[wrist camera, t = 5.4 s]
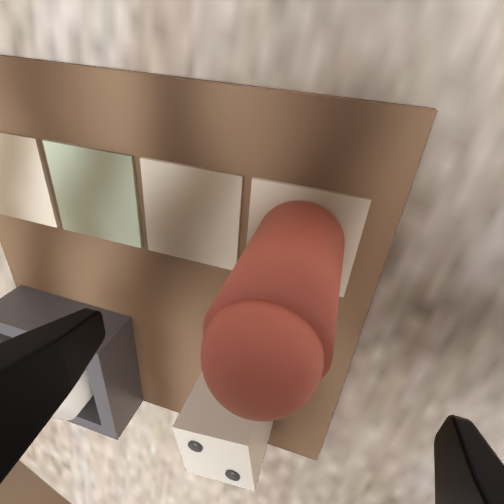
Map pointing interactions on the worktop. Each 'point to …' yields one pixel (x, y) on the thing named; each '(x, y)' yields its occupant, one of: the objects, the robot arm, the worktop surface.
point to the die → (220, 440)
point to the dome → (75, 399)
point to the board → (192, 202)
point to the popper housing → (102, 364)
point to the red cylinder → (276, 315)
